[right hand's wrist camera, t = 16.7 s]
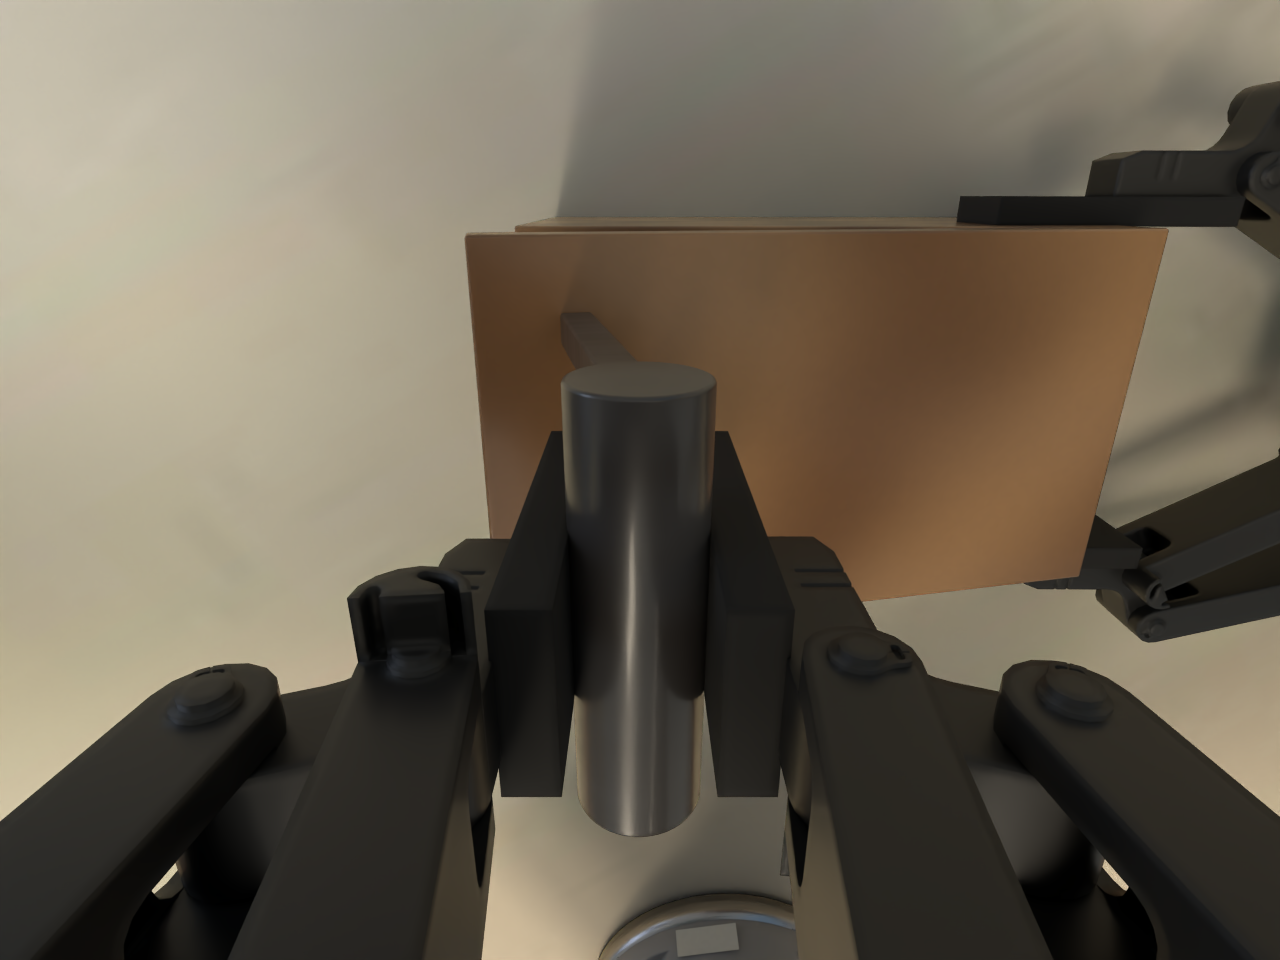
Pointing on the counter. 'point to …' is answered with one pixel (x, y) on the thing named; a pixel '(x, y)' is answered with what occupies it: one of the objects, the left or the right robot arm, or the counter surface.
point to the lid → (791, 431)
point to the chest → (755, 224)
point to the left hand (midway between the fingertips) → (947, 389)
